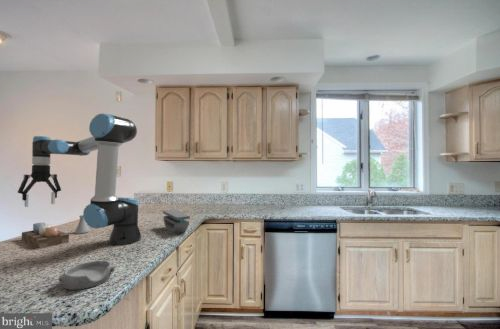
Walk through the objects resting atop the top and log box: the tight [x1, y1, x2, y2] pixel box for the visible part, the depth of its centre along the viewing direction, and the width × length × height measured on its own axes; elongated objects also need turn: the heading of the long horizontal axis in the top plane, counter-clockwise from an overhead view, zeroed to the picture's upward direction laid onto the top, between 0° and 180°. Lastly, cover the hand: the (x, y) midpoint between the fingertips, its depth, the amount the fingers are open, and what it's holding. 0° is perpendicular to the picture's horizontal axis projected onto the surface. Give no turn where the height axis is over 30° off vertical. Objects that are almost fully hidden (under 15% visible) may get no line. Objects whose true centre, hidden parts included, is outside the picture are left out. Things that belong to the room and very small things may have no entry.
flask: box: [74, 214, 91, 234], centre depth 145 cm, size 7×7×10 cm
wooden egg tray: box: [21, 230, 70, 249], centre depth 127 cm, size 24×12×4 cm, turn 58°
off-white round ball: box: [39, 224, 53, 236], centre depth 128 cm, size 5×5×5 cm
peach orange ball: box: [45, 226, 59, 238], centre depth 123 cm, size 5×5×5 cm
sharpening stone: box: [162, 209, 191, 235], centre depth 152 cm, size 25×8×11 cm, turn 37°
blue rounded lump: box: [32, 222, 46, 233], centre depth 132 cm, size 5×5×5 cm
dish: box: [58, 260, 116, 291], centre depth 84 cm, size 14×14×5 cm
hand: (40, 205), depth 132 cm, fingers open, 11 cm apart
